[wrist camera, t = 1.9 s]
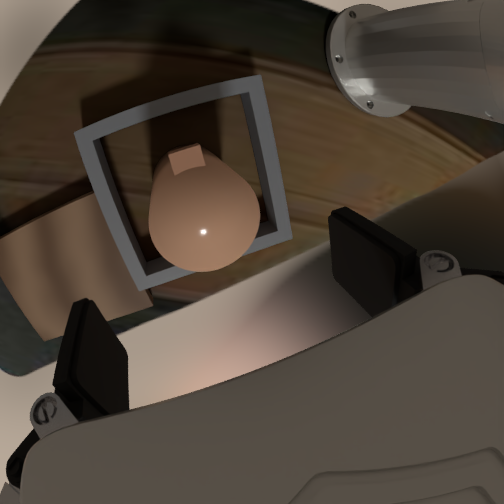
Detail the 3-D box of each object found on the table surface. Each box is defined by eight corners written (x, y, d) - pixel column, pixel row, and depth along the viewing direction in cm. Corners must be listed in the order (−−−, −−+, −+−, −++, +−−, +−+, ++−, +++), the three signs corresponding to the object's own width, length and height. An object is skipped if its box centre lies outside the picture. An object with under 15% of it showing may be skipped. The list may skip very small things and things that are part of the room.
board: (103, 186, 22) (100, 190, 21) (152, 298, 28) (153, 305, 27) (-10, 242, 20) (-15, 248, 19) (46, 333, 26) (44, 341, 25)
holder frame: (251, 77, 21) (260, 74, 19) (282, 227, 29) (292, 238, 26) (82, 130, 19) (73, 132, 17) (139, 276, 26) (139, 291, 24)
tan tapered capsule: (210, 124, 22) (242, 132, 14) (235, 220, 27) (274, 278, 18) (140, 147, 21) (125, 169, 13) (172, 242, 26) (183, 310, 17)
